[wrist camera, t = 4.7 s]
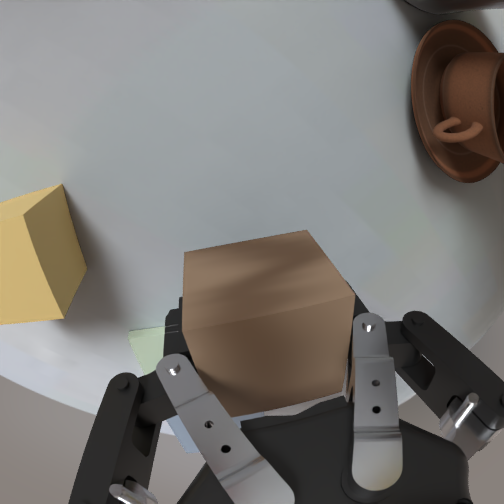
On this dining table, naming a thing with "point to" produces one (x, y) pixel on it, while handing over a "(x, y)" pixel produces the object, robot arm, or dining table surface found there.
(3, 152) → the dining table surface
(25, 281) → the ochre brick
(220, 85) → the dining table surface
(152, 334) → the tower base
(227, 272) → the walnut brick
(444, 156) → the cup and saucer
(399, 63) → the dining table surface
